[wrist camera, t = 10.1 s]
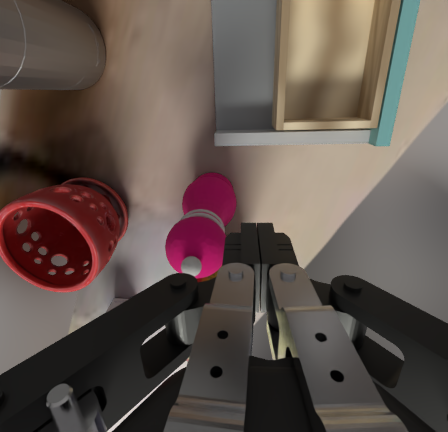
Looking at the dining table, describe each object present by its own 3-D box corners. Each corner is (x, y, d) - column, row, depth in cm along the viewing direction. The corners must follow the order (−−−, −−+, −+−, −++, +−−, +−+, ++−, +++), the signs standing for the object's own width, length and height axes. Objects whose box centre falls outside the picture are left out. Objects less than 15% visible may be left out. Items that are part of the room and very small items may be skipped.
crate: (271, 125, 36) (276, 130, 31) (277, -10, 30) (283, -28, 26) (359, 123, 35) (377, 128, 31) (382, -16, 29) (407, -35, 25)
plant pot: (63, 154, 40) (-3, 178, 29) (147, 197, 42) (114, 234, 31) (43, 225, 45) (-20, 267, 34) (118, 259, 47) (82, 310, 36)
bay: (217, 140, 38) (213, 149, 33) (211, -25, 31) (204, -51, 25) (367, 137, 37) (389, 146, 31) (398, -37, 29) (434, -66, 24)
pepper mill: (189, 166, 40) (145, 229, 22) (239, 171, 40) (237, 239, 22) (187, 212, 43) (147, 302, 25) (234, 217, 43) (228, 310, 24)
